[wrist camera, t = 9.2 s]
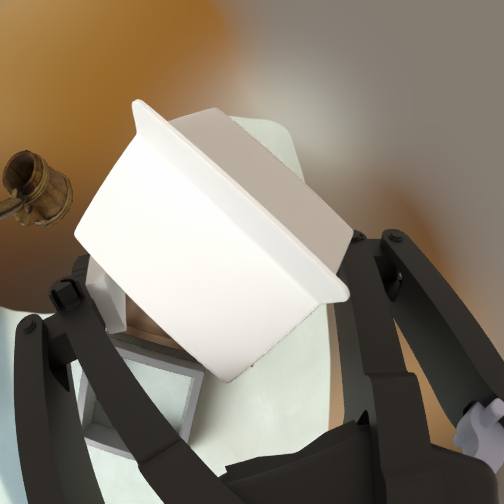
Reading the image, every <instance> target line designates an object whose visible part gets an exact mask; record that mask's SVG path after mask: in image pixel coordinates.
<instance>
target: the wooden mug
mask: <svg viewBox="0 0 504 504" xmlns="http://www.w3.org/2000/svg"><path fill="white" fill-rule="evenodd" d="M3 184H4V187H5V188H6V191H7V193H8V194H9V196H10V198H8V199H7V200H4V201H2V202H0V220H1V219H3V218H6V217H8V216H10V215H12V214H13V216H14V217H15V219H16V220H17V221H18V222H19V223H20V224H22V225H24V226H29V225H31V224H33V223H35V224H37V225H38V226H42V227H49V226H52V225H54V224H55V223H57V222H58V221H60V220H61V219H62V218H63V217H64V216H65V215H66V214H67V212H68V211H69V209H70V206H71V204H72V202H73V200H72V199H73V198H72V197H73V191H72V187H71V184H70V181H69V179H68V178H67V177H66V176H65V175H64V174H62V173H60V172H58V171H55V170H54V169H52V168H51V167H50V166H48V164H47V163H46V161H45V160H44V159H43V158H42V157H41V156H39V155H37V154H35V153H32V152H30V151H28V150H25V151H22V152H18V153H17V154H15V155H14V156H13V157H12V158H11V159H10V160H9V162H8V163H7V165H6V167H5V169H4V173H3Z"/></svg>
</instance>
